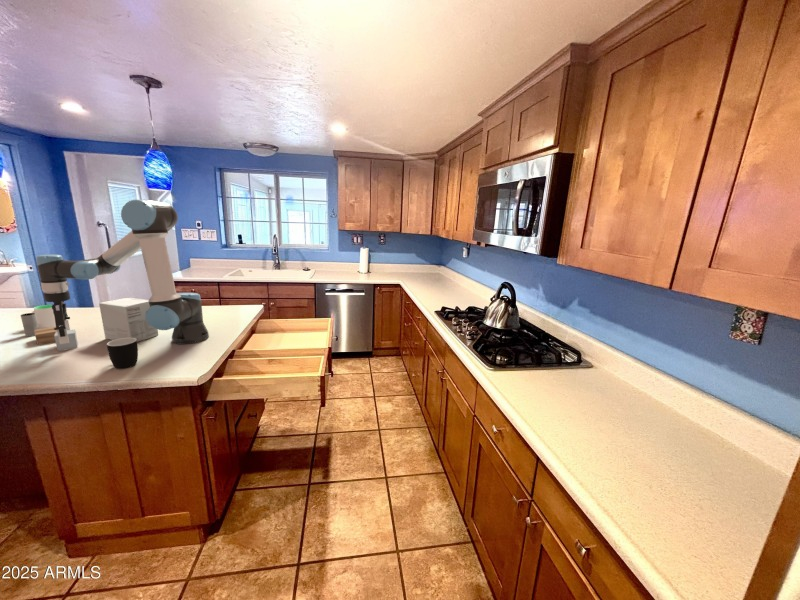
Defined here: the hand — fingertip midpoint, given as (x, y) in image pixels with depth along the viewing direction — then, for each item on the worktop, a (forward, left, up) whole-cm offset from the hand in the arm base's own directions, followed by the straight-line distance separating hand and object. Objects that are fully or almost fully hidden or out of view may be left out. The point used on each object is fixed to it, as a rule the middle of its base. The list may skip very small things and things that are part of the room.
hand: (65, 338), depth 138 cm
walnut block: (+16, +6, -4) cm, 17 cm away
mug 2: (+41, +10, -4) cm, 42 cm away
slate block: (0, 0, -4) cm, 4 cm away
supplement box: (0, -22, -4) cm, 23 cm away
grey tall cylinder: (+29, +13, -4) cm, 32 cm away
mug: (-35, -17, -4) cm, 39 cm away
